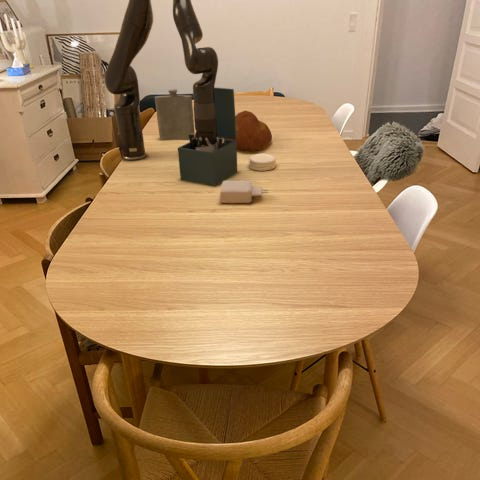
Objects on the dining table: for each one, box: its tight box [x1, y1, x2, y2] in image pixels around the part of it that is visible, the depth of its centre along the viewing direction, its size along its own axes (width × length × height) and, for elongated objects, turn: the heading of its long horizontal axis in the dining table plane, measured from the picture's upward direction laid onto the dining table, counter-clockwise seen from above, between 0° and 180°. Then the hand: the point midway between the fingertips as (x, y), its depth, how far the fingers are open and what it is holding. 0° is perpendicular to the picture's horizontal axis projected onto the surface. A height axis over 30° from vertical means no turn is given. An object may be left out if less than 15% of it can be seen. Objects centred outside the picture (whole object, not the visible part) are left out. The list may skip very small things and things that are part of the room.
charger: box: [220, 180, 269, 204], centre depth 152 cm, size 5×9×15 cm
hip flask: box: [154, 88, 196, 141], centre depth 205 cm, size 16×4×20 cm, turn 88°
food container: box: [196, 143, 218, 153], centre depth 167 cm, size 12×6×10 cm, turn 168°
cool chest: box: [177, 138, 238, 187], centre depth 168 cm, size 16×15×11 cm
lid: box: [214, 86, 237, 140], centre depth 166 cm, size 16×15×6 cm
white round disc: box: [248, 153, 277, 172], centre depth 176 cm, size 10×10×4 cm
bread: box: [225, 110, 273, 152], centre depth 199 cm, size 21×33×12 cm, turn 4°
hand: (208, 165), depth 169 cm, fingers closed on food container, 5 cm apart
